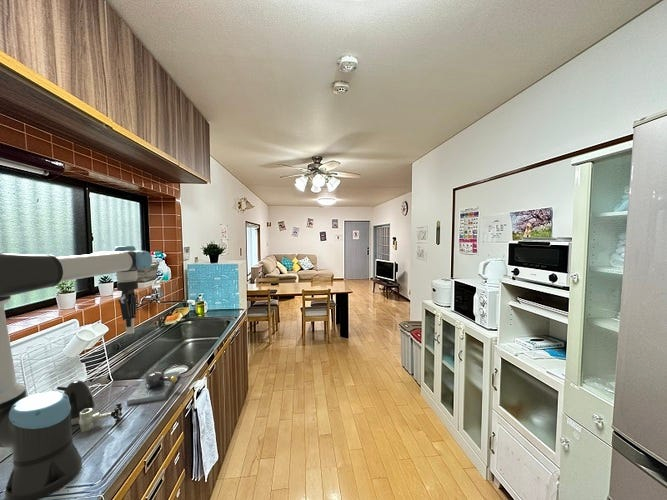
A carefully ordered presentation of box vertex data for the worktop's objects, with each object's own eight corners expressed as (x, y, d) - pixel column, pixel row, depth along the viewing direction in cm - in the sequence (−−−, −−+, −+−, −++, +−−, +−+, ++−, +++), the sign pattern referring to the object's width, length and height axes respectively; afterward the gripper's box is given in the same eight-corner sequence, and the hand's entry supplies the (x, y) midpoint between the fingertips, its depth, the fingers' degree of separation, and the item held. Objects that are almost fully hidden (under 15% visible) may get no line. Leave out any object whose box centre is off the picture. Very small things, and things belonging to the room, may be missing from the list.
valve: (76, 436, 99) (118, 425, 104) (74, 417, 99) (117, 408, 104) (83, 425, 105) (122, 415, 110) (82, 407, 105) (121, 399, 110)
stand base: (165, 399, 120) (164, 385, 120) (127, 405, 117) (126, 390, 117) (179, 375, 142) (178, 363, 141) (147, 379, 138) (146, 367, 138)
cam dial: (182, 382, 130) (181, 370, 130) (170, 390, 123) (169, 378, 123) (154, 379, 134) (153, 368, 133) (141, 387, 127) (140, 375, 126)
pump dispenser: (65, 417, 110) (62, 378, 109) (99, 409, 114) (96, 372, 114) (52, 433, 101) (50, 391, 100) (90, 424, 105) (87, 384, 104)
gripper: (124, 279, 131) (127, 329, 132) (110, 283, 119) (113, 339, 120) (142, 278, 133) (145, 328, 134) (130, 282, 121) (134, 337, 121)
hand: (130, 333), depth 127 cm, fingers closed
